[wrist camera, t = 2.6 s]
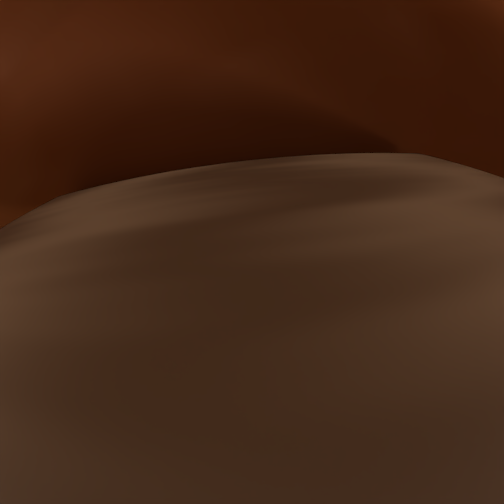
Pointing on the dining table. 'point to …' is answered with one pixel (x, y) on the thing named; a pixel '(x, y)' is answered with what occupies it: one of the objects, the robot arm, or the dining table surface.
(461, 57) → the dining table surface
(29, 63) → the dining table surface
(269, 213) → the brown hollow box
